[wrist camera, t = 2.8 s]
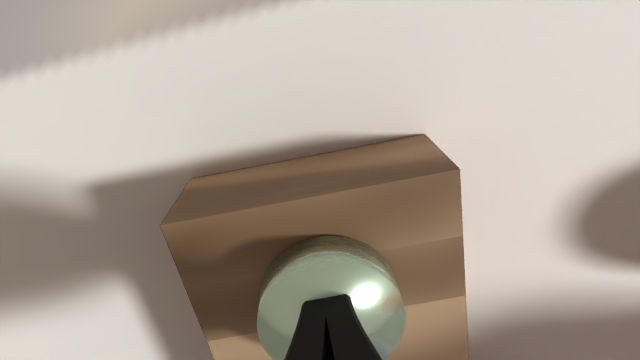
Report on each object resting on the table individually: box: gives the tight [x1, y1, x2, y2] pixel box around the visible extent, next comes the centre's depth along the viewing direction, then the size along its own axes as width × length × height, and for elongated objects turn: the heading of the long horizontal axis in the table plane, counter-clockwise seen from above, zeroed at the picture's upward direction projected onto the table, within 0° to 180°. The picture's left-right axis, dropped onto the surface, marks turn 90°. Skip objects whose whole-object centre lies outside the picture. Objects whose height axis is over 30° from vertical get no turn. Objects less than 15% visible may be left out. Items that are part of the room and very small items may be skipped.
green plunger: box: [257, 236, 406, 360], centre depth 14 cm, size 4×4×4 cm
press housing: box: [160, 134, 469, 360], centre depth 17 cm, size 17×9×4 cm, turn 11°
